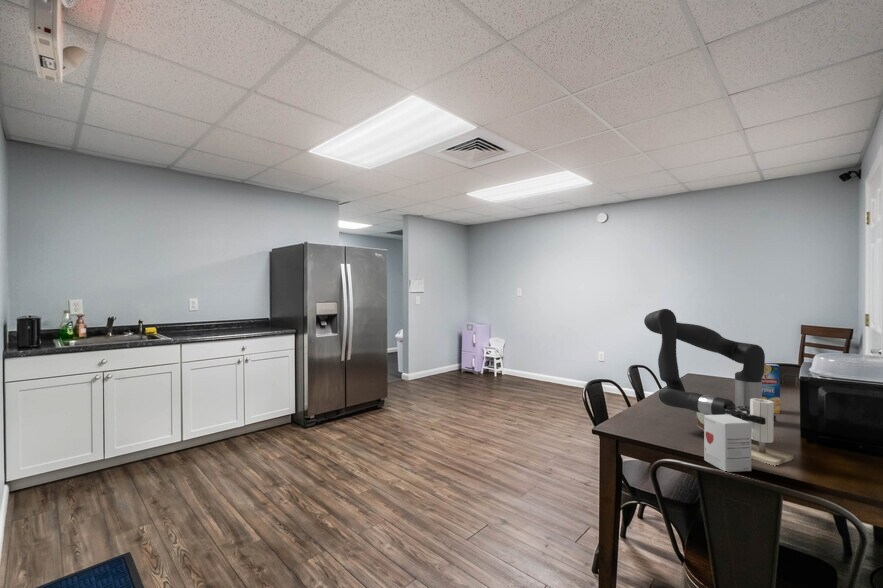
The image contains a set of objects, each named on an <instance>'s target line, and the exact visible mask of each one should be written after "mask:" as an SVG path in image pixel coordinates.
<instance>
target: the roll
mask: <svg viewBox="0 0 883 588" xmlns="http://www.w3.org/2000/svg"><path fill="white" fill-rule="evenodd" d="M750 414H751V415H755V416H759V417H763V418H765V419H766V424H764V425H762V424H759V423H755V422H750V423H751V440H753V441H757V442H758V443H759V442H765V443H766V444H770V443H772V444H773V443H774V423H775V422H774V415H775V413H774V402H772V401H769V400H765V399H757V398H752V399H750Z"/></svg>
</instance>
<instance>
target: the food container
mask: <svg viewBox="0 0 883 588" xmlns="http://www.w3.org/2000/svg"><path fill="white" fill-rule="evenodd" d="M704 415H705V414H703V413H699V412H696V426H697V427H698V428H699V429H701V430H702V431H704Z"/></svg>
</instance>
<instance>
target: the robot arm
mask: <svg viewBox="0 0 883 588" xmlns="http://www.w3.org/2000/svg"><path fill="white" fill-rule="evenodd" d="M643 321H644V325H645V327H646V328H647V329H648V330H649V331H650V332H652V333H655V334H658V335H661V345H660V351H659V354H658V359H657V363H658V364H657V365H658V373H659V378H660V380H661V381H662V382H664V383H665V384H666V386H667V387H664V388H662V389H660V391H659V393H658V398H659V400H660V401H661V403H663V404H664V405H666V406H668V407H672V408H673V407H674V408H679V409H686V410H690V411H693V412H699V413H703V414H705V415H726V414H728V415H731V416H734V417H736V418H739V419H742V420H744V421H747V422H755V423H759V424H762V425H764V424H766V419H765V418H763V417H759V416H755V415H751V414H750V399H752V398H757V399H762V377H763V375H764V365H765V363H766V361H765V360H766V355H765V351H764V349H763V348H762V346H760V345H758V344H755V343H748V342H739V341H734V340H731V339H729V338H726V337H723V336H722V335H721V334H720V333H719V332H717V331H715V330H714V329H711V328H709V327H706V326H703V325H701V324H695V323H693V324H692V323H683V322H678V321H677V316H676V314H675V313H674V312H673V311H672V310H671V309H668V308H661V309H658V310H655V311H652V312H650V313H648V314H646V316H645V317H644V319H643ZM677 340H678V341H681V342H683V343H686V344H689V345H691V346H694V347H695V348H699V349H702V350H706V351H708V352H712V353H715V354H718V355H721V356H724V357H726V358H727V359H729V360H732V361H734V362H736V363H738V364H743V367H742V370H740V371H737V372H735V373H734V401H733V400H731V399H728V398H723V397H721V396H720V397H719V396H715V395H709V394H708V395H707V394H703V393H698V392H691V391H690V392H689V391H686V389H685V387H684V384H683V382H682V380H681V377H680V372H679V371H680V370H679V365H678V359H677V358H678V357H677ZM775 422H777V415H776V414H774V423H775Z"/></svg>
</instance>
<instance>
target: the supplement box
mask: <svg viewBox="0 0 883 588" xmlns="http://www.w3.org/2000/svg"><path fill="white" fill-rule="evenodd" d="M703 432H704V433H703V437H704V438H703V440H704V443H703V445H704V446H703V449H704V450H703V451H704V452H703V455H704V456H703V457H704V458H703V460H704V461H705V462H707V463H708V464H710V465H712V466H714V467H715V468H717V469H720V470H721V471H723V472H725V471H727V472H726V473H730V472H731V473H733V472H752V459H751V443H752V439H751V423H750V422H747V421H744V420H742V419H739V418H736V417H734V416H731V415H728V414H726V415H704V430H703Z"/></svg>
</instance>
